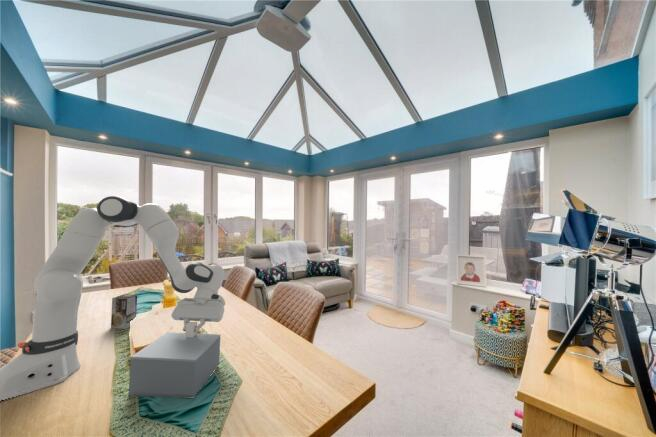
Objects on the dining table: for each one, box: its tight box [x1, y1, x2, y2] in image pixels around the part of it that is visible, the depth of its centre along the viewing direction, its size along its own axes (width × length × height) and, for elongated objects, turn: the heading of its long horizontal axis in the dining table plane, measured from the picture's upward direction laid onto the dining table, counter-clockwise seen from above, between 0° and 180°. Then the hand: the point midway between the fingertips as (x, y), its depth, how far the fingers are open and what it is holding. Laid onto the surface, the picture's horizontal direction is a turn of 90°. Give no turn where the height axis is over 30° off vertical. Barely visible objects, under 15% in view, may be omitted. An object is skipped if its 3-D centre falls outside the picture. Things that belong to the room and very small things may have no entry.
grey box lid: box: [130, 321, 221, 362], centre depth 89 cm, size 18×22×6 cm
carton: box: [128, 337, 221, 399], centre depth 89 cm, size 18×22×12 cm
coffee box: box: [110, 294, 138, 330], centre depth 130 cm, size 9×6×16 cm
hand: (190, 331), depth 95 cm, fingers closed on grey box lid, 3 cm apart
